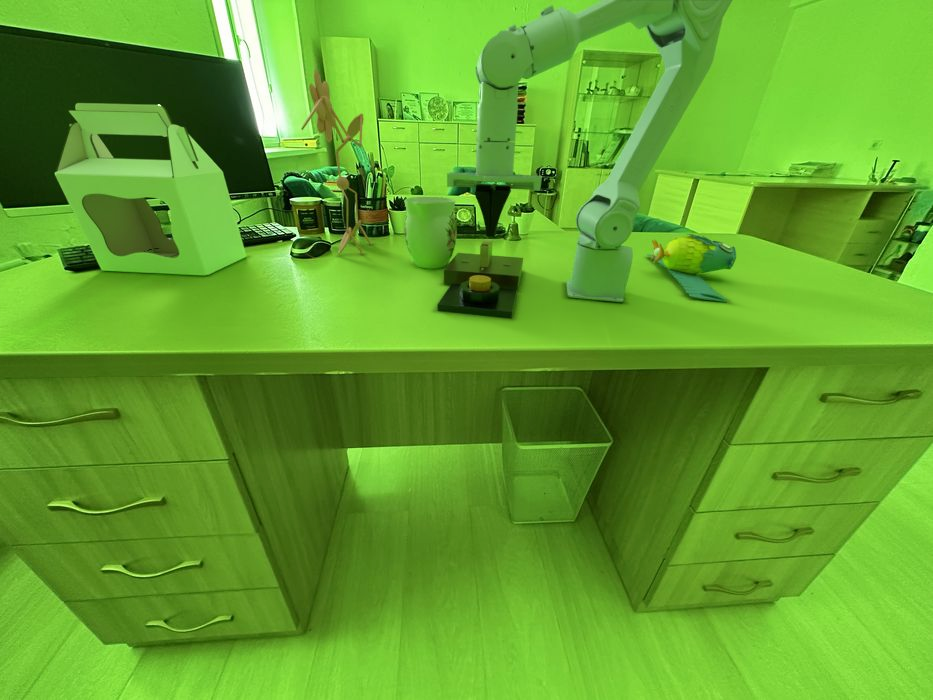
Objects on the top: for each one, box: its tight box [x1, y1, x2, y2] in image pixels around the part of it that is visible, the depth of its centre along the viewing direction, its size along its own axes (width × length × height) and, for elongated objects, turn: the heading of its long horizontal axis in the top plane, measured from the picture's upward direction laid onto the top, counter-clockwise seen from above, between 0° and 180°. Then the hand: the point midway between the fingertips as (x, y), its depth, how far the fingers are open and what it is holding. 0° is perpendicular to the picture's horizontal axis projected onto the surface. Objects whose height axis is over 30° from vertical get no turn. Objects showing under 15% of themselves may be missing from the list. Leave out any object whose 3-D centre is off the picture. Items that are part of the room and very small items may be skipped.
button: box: [469, 275, 491, 291], centre depth 61 cm, size 4×4×2 cm
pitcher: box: [403, 196, 458, 270], centre depth 78 cm, size 11×18×14 cm, turn 174°
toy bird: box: [646, 233, 737, 303], centre depth 76 cm, size 28×9×15 cm
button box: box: [437, 281, 518, 319], centre depth 62 cm, size 12×10×3 cm
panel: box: [443, 252, 524, 292], centre depth 73 cm, size 14×12×3 cm
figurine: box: [300, 69, 379, 259], centre depth 81 cm, size 15×26×35 cm, turn 0°
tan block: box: [479, 238, 494, 267], centre depth 71 cm, size 6×2×4 cm, turn 169°
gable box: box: [54, 102, 247, 277], centre depth 70 cm, size 22×13×28 cm, turn 86°
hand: (490, 235), depth 61 cm, fingers closed
